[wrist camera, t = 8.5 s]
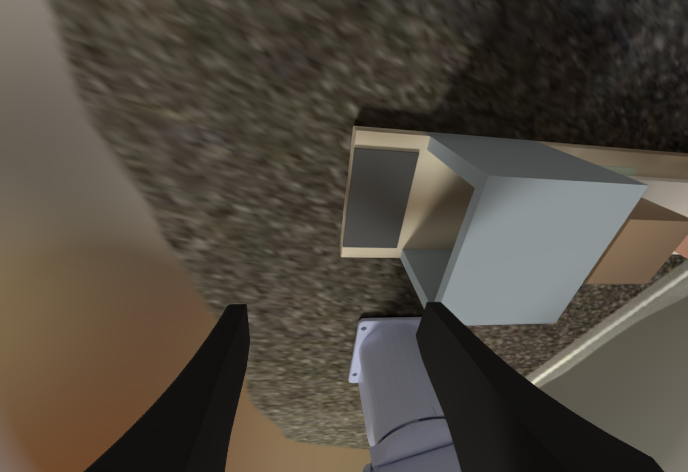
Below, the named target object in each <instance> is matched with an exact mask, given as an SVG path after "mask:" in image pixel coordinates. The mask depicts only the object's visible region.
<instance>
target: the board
mask: <svg viewBox="0 0 688 472" xmlns="http://www.w3.org/2000/svg"><path fill="white" fill-rule="evenodd" d="M429 139H430V136H429V135H428V134H426V133H425V132H423V131H411V130H399V129H387V128H375V127H363V126H353V133H352V142H351V151H350V160H349V168H348V177H347V186H346V195H345V204H344V212H343V221H342V230H341V239H340V253H341V257H380V258H400V256H401V252H402V249H429V250H453V248H454V245H455V242H456V240H457V237H458V234H459V231H460V228H461V226H462V223H463V220H464V217H465V214H466V212H467V209H468V206H469V203H470V200H471V198H472V195H473V192H474V189H475V188H474V187H473V186H472V185H470V184H469V183H468V182H467V181H465V180H464V179H463V178H462V177H460V176H459V175H458V174H457V173H455V172H454V171H453V170H452V169H450V168H449V167H448V166H447V165H445V164H444V163H443V162H442V161H440V160H439V159H438V158H437V157H435V156H434V155H433V154H432V153H431V152H429V151H428V150H427V147H428V143H429ZM537 142H540V143H542V144H545V145H547V146H550V147H552V148H555V149H557V150H560V151H563V152H565V153H568V154H570V155H573V156H575V157H578V158H580V159H583V160H586V161H588V162H591V163H593V164H596V165H598V166H601V167H603V168H606V169H609V170H611V171H614V172H616V173H619V174H621V175H627V176H642V177H657V178H673V179H688V153H677V152H665V151H652V150H640V149H628V148H616V147H604V146H592V145H580V144H568V143H556V142H544V141H537Z"/></svg>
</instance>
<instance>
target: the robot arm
mask: <svg viewBox="0 0 688 472" xmlns="http://www.w3.org/2000/svg"><path fill="white" fill-rule="evenodd" d="M249 345H250V335H249V325H248V314H247V304H230V305H228V306H227V307H226V309H225V311H224V313H223V314H222V316H221V317H220V319H219V321H218V322H217V324H216V325H215V327H214V328H213V330H212V331H211V333H210V334H209V336H208V337H207V339H206V340H205V341H204V343H203V344H202V346H201V347H200V348H199V350H198V351H197V353H196V354H195V355H194V357H193V358H192V359H191V360H190V362H189V363H188V364H187V365H186V367H185V368H184V369H183V370H182V372H181V373H180V374H179V375H178V377H177V378H176V379H175V380H174V382H173V383H172V384H171V385H170V386H169V387H168V389H167V390H166V391H165V392H164V393H163V394H162V395H161V396H160V397H159V399H158V400H157V401H156V402H155V403H154V404H153V405H152V406H151V407H150V408H149V410H147V411H146V413H145V414H144V415H143V416H142V417H141V418H140V419H139V420H138V421H137V422H136V423H135V424H134V425H133V426H132V427H131V428H130V429H129V430H128V431H127V432H126V433H125V434H124V435H123V436H122V437H121V438H120V439H119V440H118V441H117V442H116V443H114V444H113V445H112V446H111V447H110V448H109V449H108V450H107V451H106V452H105V453H104V454H103V455H101V456H100V457H99V458H98V459H97V460H96V461H95V462H94V463H93V464H92V465H90V466H89V467H88V468H87V469H86V470H85V471H84V472H225V466H226V458H227V452H228V446H229V440H230V435H231V431H232V426H233V422H234V417H235V414H236V410H237V405H238V401H239V397H240V392H241V389H242V385H243V380H244V376H245V372H246V367H247V360H248V353H249ZM348 379H349V382H350V383H358V384H359V390H360V396H361V402H362V408H363V414H364V420H365V426H366V431H367V437H368V441H369V444H370V446H371V447H370V448H369V451H370V457H371V463H370V464H367V465H366V466H365V467H364V469H363V472H664V471H663V470H662V468H661V467H660V466H659V465H658V464H657V463H656V462H655V460H654V459H653V458H652V457H650V456H648V455H646V454H644V453H642V452H641V451H639V450H637V449H635V448H634V447H632V446H630V445H628V444H626V443H624V442H623V441H621V440H619V439H617V438H615V437H614V436H612V435H610V434H608V433H607V432H605V431H603V430H602V429H600V428H598V427H596V426H595V425H593V424H592V423H590V422H588V421H587V420H585V419H583V418H582V417H580V416H579V415H577V414H575V413H574V412H572V411H571V410H569V409H568V408H566V407H565V406H563V405H562V404H560V403H559V402H557V401H556V400H554V399H553V398H551V397H550V396H548V395H547V394H546V393H544V392H543V391H541V390H540V389H539V388H537V387H536V386H535V385H533V384H532V383H531V382H530V381H528V380H527V379H526V378H524V377H523V376H522V375H520V374H519V373H518V372H517V371H515V370H514V369H513V368H512V367H510V366H509V365H508V364H507V363H506V362H504V361H503V360H502V359H501V358H500V357H499V356H497V355H496V354H495V353H494V352H493V351H492V350H491V349H490V348H488V347H487V346H486V345H485V344H484V343H483V342H482V341H481V340H480V339H479V338H478V337H477V336H475V335H474V334H473V333H472V332H471V331H470V330H469V329H468V328H467V327H466V326H465V325H464V324H463V323H462V322H461V321H460V320H459V319H458V318H457V317H456V316H455V315H454V314H453V313H452V312H451V311H450V310H449V309H448V308H447V307H446V306H445V305H444V304H442V303H441V302H427V303H426V306H425V309H424V312H423V315H422V317H394V318H362V319H360V320H359V322H358V328H357V333H356V339H355V344H354V350H353V355H352V361H351V366H350V371H349V377H348Z"/></svg>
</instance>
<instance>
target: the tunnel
mask: <svg viewBox="0 0 688 472" xmlns="http://www.w3.org/2000/svg"><path fill="white" fill-rule="evenodd" d="M425 133H426V134H428V135H429V136H430V139H429V143H428V147H427V150H428V151H429V152H431V153H432V154H433V155H434V156H435V157H437V158H438V159H439V160H440V161H442V162H443V163H444V164H445V165H447V166H448V167H449V168H450V169H452V170H453V171H454V172H455V173H457V174H458V175H459V176H460V177H462V178H463V179H464V180H465V181H467V182H468V183H469V184H470V185H472V186H473V187H474V188H475V189H474V192H473V195H472V198H471V200H470V203H469V206H468V209H467V212H466V214H465V217H464V220H463V223H462V226H461V228H460V231H459V234H458V237H457V240H456V242H455V245H454V248H453V250H429V249H402V252H401V256H400V259H401V261H402V263H403V265H404V267H405V270H406V272H407V274H408V276H409V278H410V280H411V282H412V284H413V286H414V289H415V291H416V293H417V295H418V297H419V299H420V301H421V303H422V306H423V308H424V309H425V306H426V303H427V302H441V303H442V304H444V305H445V306H446V307H447V308H448V309H449V310H450V311H451V312H452V313H453V314H454V315H455V316H456V317H457V318H458V319H459V320H460V321H461V322H462V323H463V324H464V325H500V324H539V323H556V321H557V320H558V318H559V317H560V315H561V314H562V312H563V311H564V309H565V308H566V306H567V305H568V304H569V302H570V301H571V299H572V298H573V296H574V295H575V293H576V292H577V290H578V289H579V287H580V286H581V285H582V283H583V282H584V280H585V279H586V277H587V276H588V274H589V273H590V271H591V270H592V268H593V267H594V265H595V264H596V263H597V261H598V260H599V258H600V257H601V255H602V254H603V252H604V251H605V249H606V248H607V246H608V245H609V244H610V242H611V241H612V239H613V238H614V236H615V235H616V233H617V232H618V230H619V229H620V227H621V226H622V225H623V223H624V222H625V220H626V219H627V217H628V216H629V214H630V213H631V211H632V210H633V208H634V207H635V205H636V204H637V203H638V201H639V200H640V198H641V197H642V195H643V194H644V192H645V191H646V189H647V188H648V186H649V185H647V184H644V183H642V182H639V181H637V180H634V179H632V178H629V177H626V176H624V175H621V174H619V173H616V172H614V171H611V170H609V169H606V168H603V167H601V166H598V165H596V164H593V163H591V162H588V161H586V160H583V159H580V158H578V157H575V156H573V155H570V154H568V153H565V152H563V151H560V150H557V149H555V148H552V147H550V146H547V145H545V144H542V143H540V142H537V141H532V140H520V139H508V138H496V137H483V136H471V135H459V134H447V133H435V132H425Z"/></svg>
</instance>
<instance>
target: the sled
mask: <svg viewBox="0 0 688 472" xmlns="http://www.w3.org/2000/svg"><path fill="white" fill-rule="evenodd" d="M624 176H626V177H629V178H632V179H634V180H637V181H639V182H642V183H644V184H647V185H649V186H648V188H647V189H646V191H645V192H644V194H643V195H642V197H641V198H640V200H639V201H638V203H637V204H636V205H635V207H634V208H633V210H632V211H631V213H630V214H629V216H628V217H627V219H626V220H625V222H624V223H623V225H622V226H621V227H620V229H619V230H618V232H617V233H616V235H615V236H614V238H613V239H612V241H611V242H610V244H609V245H608V246H607V248H606V249H605V251H604V252H603V254H602V255H601V257H600V258H599V260H598V261H597V263H596V264H595V265H594V267H593V268H592V270H591V271H590V273H589V274H588V276H587V277H586V279H585V280H584V283H585V284H647V283H648V282H649V281H650V280H651V278H652V277H653V276H654V275H655V274H656V272H657V271H658V270H659V269H660V268H661V266H662V265H663V264H664V263H665V262H666V260H667V259H668V258H669V257H670V256H671V254H680V255H682V256H684V257H685V258H687V259H688V179H673V178H657V177H642V176H627V175H624Z"/></svg>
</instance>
